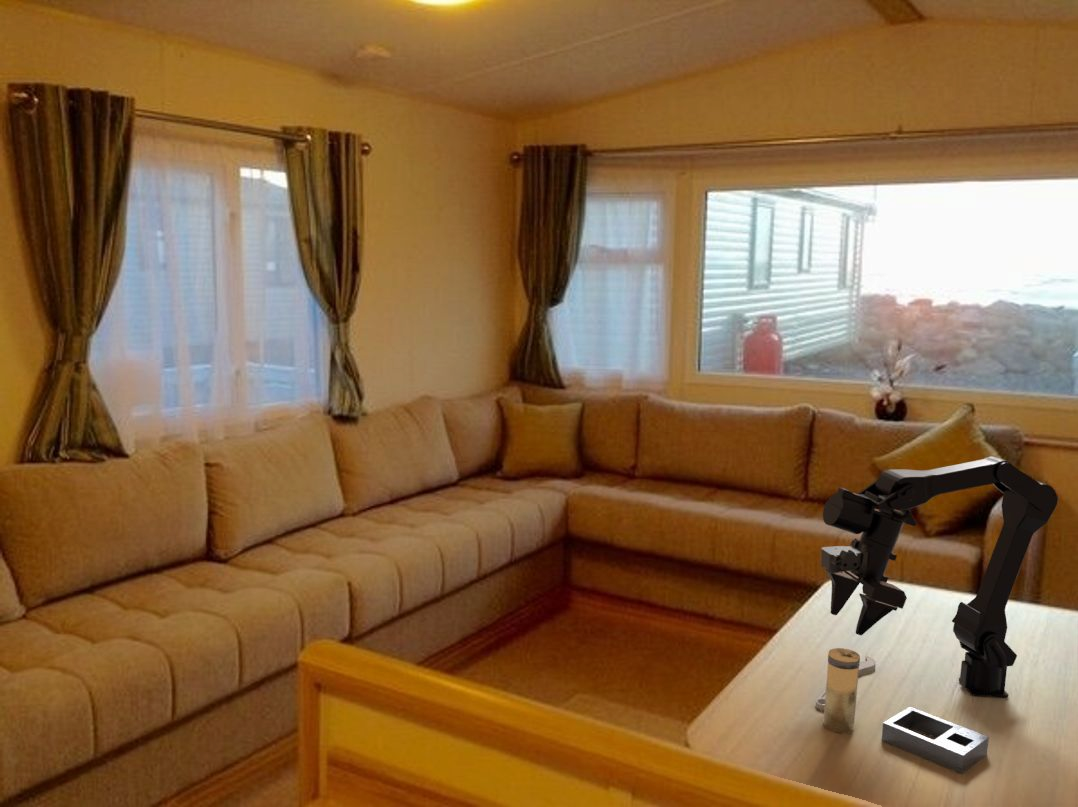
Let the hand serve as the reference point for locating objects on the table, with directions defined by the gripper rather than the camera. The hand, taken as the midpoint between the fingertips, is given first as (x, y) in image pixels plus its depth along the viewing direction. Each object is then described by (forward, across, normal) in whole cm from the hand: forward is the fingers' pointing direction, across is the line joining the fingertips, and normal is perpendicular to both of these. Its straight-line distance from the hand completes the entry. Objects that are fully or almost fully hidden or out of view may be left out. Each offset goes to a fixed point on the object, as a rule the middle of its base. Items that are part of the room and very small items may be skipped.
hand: (845, 624), depth 161 cm
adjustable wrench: (+12, -5, +7) cm, 15 cm away
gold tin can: (+14, +10, -1) cm, 18 cm away
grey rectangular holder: (+11, +18, +10) cm, 24 cm away
